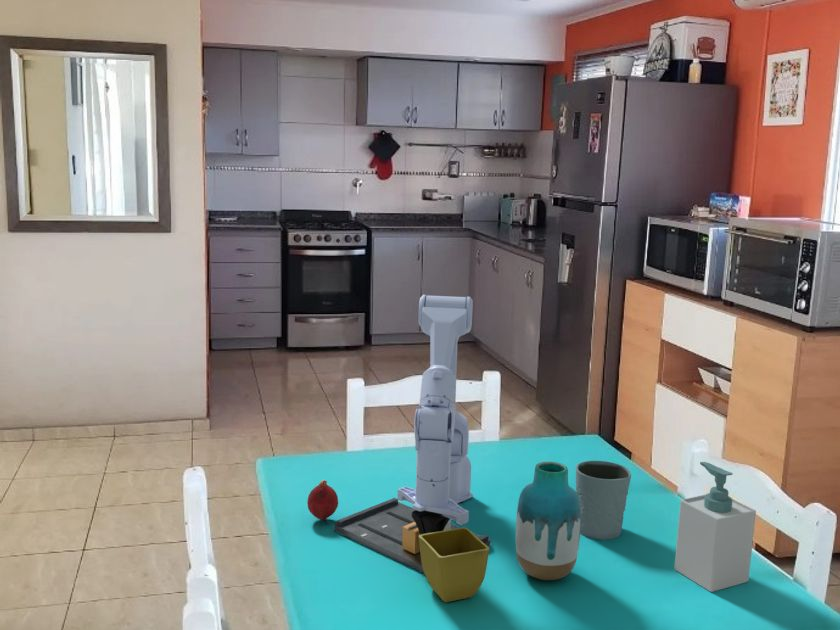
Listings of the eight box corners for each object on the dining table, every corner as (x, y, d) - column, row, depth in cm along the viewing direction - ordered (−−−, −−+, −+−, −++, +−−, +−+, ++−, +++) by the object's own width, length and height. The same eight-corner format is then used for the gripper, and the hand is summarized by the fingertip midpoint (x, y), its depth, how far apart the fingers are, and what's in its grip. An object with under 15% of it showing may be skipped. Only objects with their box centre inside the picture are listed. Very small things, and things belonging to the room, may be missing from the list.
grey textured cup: (561, 528, 164) (565, 468, 162) (590, 513, 172) (594, 455, 169) (608, 546, 158) (613, 484, 155) (636, 529, 165) (641, 469, 162)
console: (395, 506, 172) (395, 496, 172) (490, 546, 156) (490, 535, 156) (334, 530, 161) (334, 520, 160) (430, 576, 145) (430, 565, 144)
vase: (562, 596, 140) (569, 484, 136) (502, 578, 145) (508, 469, 141) (586, 570, 148) (594, 464, 145) (529, 554, 154) (535, 451, 150)
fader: (414, 542, 154) (414, 519, 153) (426, 548, 152) (427, 525, 151) (402, 548, 152) (402, 524, 151) (414, 553, 150) (415, 530, 149)
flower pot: (416, 585, 142) (417, 533, 140) (464, 576, 145) (466, 525, 144) (438, 611, 134) (440, 557, 132) (488, 601, 138) (491, 548, 136)
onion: (332, 528, 162) (333, 487, 160) (303, 525, 163) (303, 484, 161) (341, 515, 167) (342, 476, 166) (313, 512, 168) (313, 473, 167)
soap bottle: (709, 559, 154) (720, 457, 150) (748, 582, 146) (760, 474, 142) (672, 569, 150) (682, 464, 146) (711, 592, 142) (722, 482, 138)
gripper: (385, 469, 148) (384, 543, 151) (450, 494, 139) (447, 572, 141) (414, 459, 153) (412, 531, 156) (477, 482, 144) (474, 558, 146)
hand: (430, 550), depth 149 cm, fingers closed
